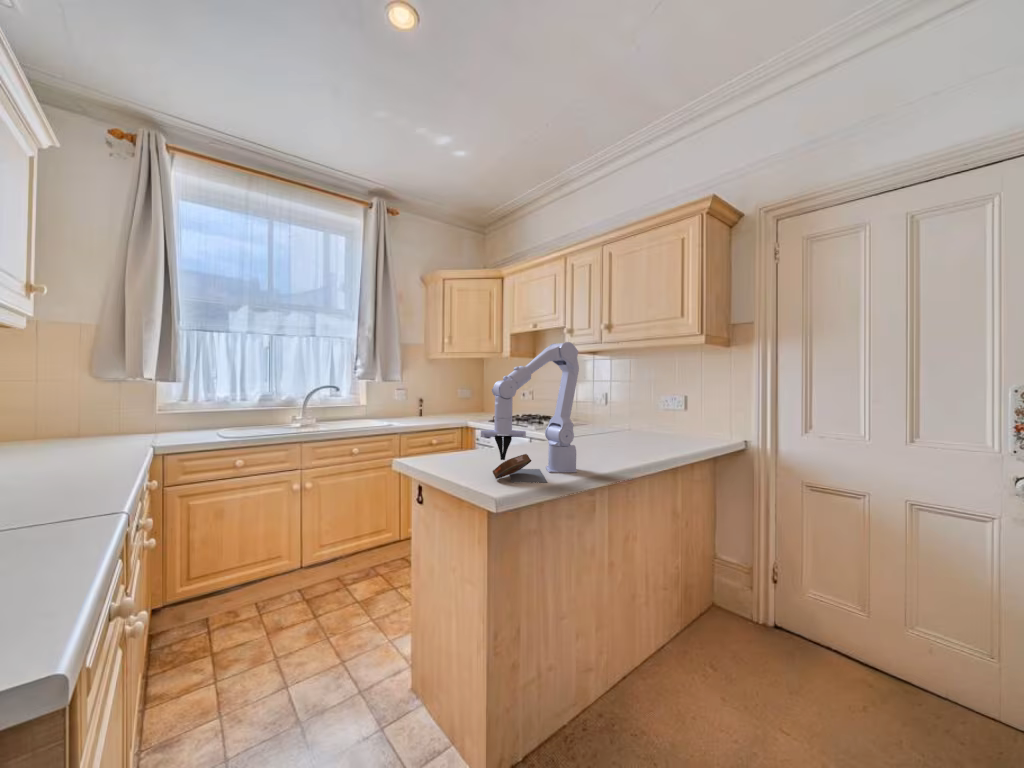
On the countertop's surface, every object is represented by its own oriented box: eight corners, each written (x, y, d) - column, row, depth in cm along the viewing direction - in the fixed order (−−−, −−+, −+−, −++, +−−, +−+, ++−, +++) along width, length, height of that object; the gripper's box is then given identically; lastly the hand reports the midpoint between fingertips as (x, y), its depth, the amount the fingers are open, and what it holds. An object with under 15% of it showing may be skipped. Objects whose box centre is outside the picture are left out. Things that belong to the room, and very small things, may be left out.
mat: (539, 469, 143) (539, 468, 143) (547, 482, 126) (547, 481, 126) (508, 469, 142) (508, 468, 142) (511, 482, 125) (511, 481, 125)
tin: (490, 481, 127) (508, 469, 122) (486, 472, 128) (503, 460, 123) (519, 470, 139) (536, 459, 134) (515, 462, 140) (532, 451, 135)
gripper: (524, 416, 138) (523, 456, 138) (481, 416, 137) (480, 456, 137) (526, 418, 131) (526, 461, 131) (480, 418, 130) (480, 461, 130)
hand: (502, 459), depth 134 cm, fingers closed
